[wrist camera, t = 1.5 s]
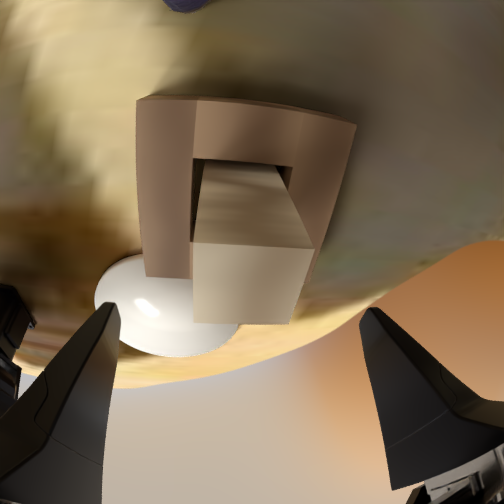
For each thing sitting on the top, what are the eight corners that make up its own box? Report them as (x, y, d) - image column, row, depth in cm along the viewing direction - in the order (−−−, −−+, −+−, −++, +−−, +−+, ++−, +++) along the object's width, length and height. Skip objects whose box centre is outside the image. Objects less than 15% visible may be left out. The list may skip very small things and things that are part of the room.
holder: (152, 253, 20) (145, 276, 18) (148, 95, 13) (136, 100, 11) (300, 261, 21) (308, 283, 19) (339, 116, 15) (356, 124, 13)
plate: (114, 345, 26) (112, 351, 26) (82, 248, 19) (78, 255, 18) (232, 352, 28) (232, 359, 28) (248, 257, 21) (249, 264, 20)
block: (202, 212, 18) (193, 322, 11) (206, 154, 16) (192, 242, 9) (262, 216, 19) (288, 324, 12) (272, 160, 16) (314, 249, 9)
